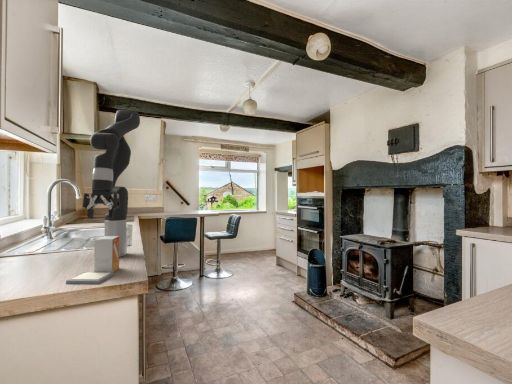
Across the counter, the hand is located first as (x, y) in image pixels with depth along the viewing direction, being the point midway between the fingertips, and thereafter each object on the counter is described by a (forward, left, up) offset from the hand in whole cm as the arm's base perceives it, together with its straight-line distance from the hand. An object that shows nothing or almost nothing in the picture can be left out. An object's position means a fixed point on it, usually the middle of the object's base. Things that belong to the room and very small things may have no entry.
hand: (100, 218), depth 106 cm
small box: (+7, +8, -20) cm, 22 cm away
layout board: (+17, +8, -20) cm, 27 cm away
